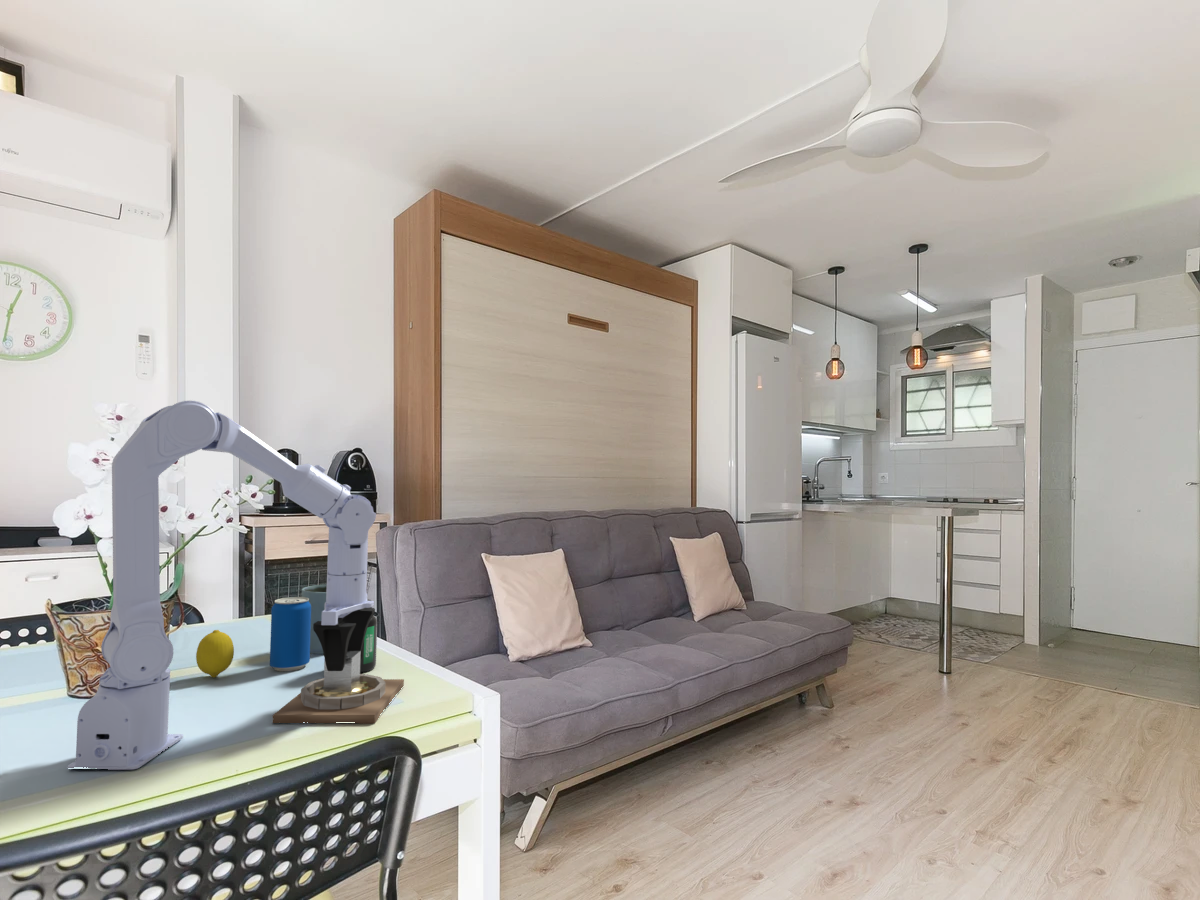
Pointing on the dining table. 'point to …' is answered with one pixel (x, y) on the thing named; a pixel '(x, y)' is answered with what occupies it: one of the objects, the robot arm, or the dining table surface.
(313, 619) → the green plant pot
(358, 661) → the gear
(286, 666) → the beverage can
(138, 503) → the robot arm
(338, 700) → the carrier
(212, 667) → the lemon
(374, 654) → the supplement bottle
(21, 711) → the dining table surface
